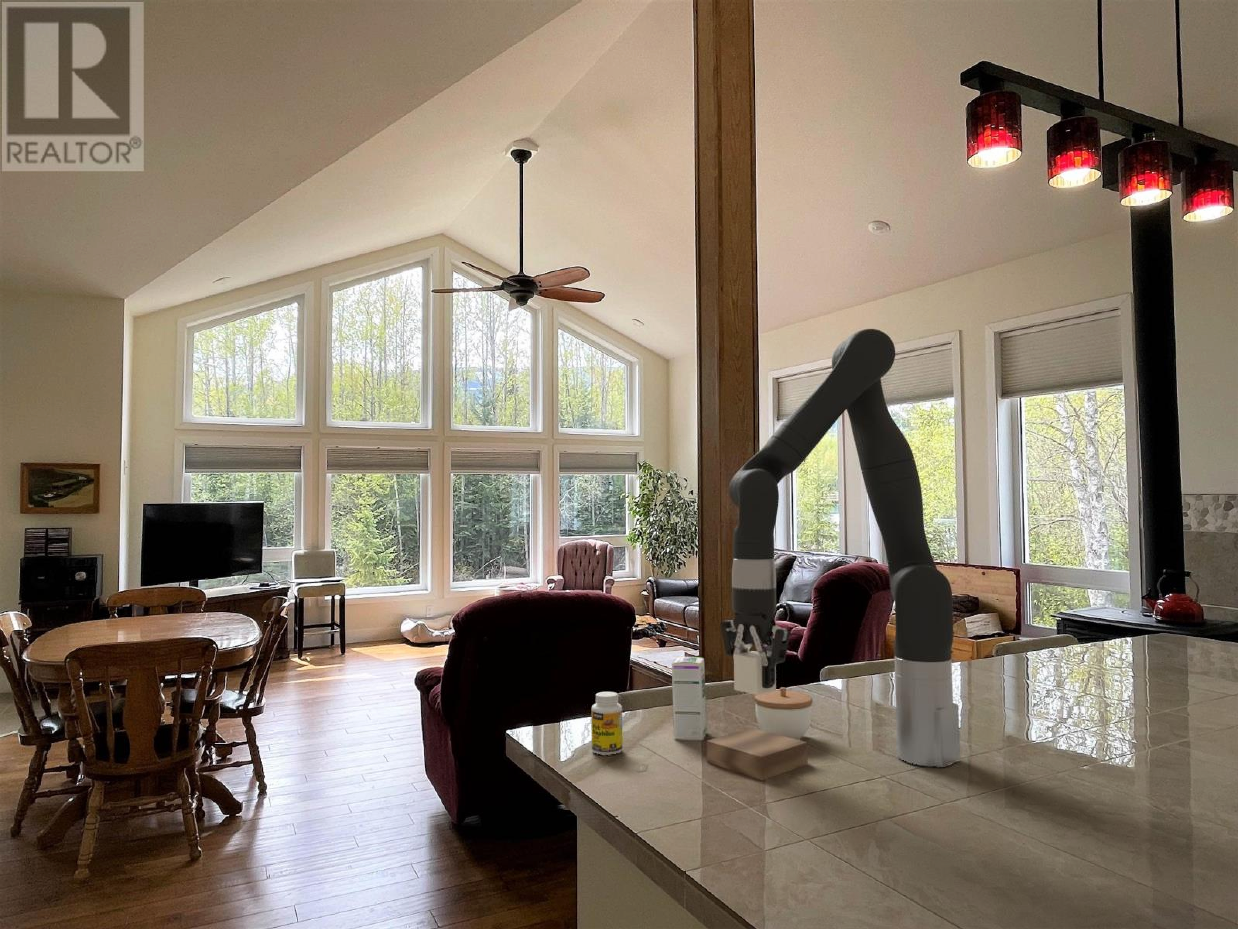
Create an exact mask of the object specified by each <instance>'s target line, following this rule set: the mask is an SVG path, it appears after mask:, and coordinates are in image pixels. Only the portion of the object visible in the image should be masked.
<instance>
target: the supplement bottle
mask: <svg viewBox="0 0 1238 929" xmlns="http://www.w3.org/2000/svg"><path fill="white" fill-rule="evenodd" d="M590 712H591V714H590V715H591V716H590V717H591V721H590V722H591V723H590V724H591V725H590V726H591V751H592V753H594V754H595V753H598V754H604V755H603V756H606V755H608V756H611V755H610V754H615V755H617V754H616V753H618V754H620V753H621V752H622V750H623V706H622V705H621V703H619V697H618V693H617V692H615V691H600V692H597V693H596V694H595V703H594V704H592V706H591V711H590ZM598 754H597V755H598Z"/></svg>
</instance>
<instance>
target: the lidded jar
mask: <svg viewBox="0 0 1238 929" xmlns="http://www.w3.org/2000/svg"><path fill="white" fill-rule="evenodd" d="M754 702H755V703H754V704H755V706H754V707H755V716H756V721H757V724H758V726H759V728H760V730H762V731H766V732H770V733H774V734H777V735H781V736H785V737H789V738H793V739H796V740H800V741H802V737H803V736H805V734H806V733H807V732H808V730H809V729H810V726H811V724H812V722H811V721H812V718H813V716H812V715H813V697H812V696H811V695H810V694H807V693H804V692H799V691H795V690H787V688H786V687H783V686H782V687H780V688H779V690H777V689H776V691H772V692H768V693H763V694H759V695H754Z"/></svg>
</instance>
